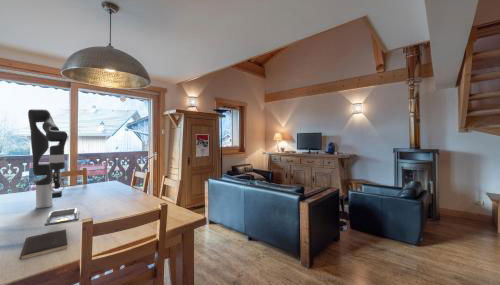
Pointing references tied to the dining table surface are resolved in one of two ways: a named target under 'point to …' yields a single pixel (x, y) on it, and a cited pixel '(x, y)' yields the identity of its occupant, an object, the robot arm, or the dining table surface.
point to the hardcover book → (44, 243)
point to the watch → (57, 193)
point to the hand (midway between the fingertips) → (57, 187)
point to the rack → (62, 216)
